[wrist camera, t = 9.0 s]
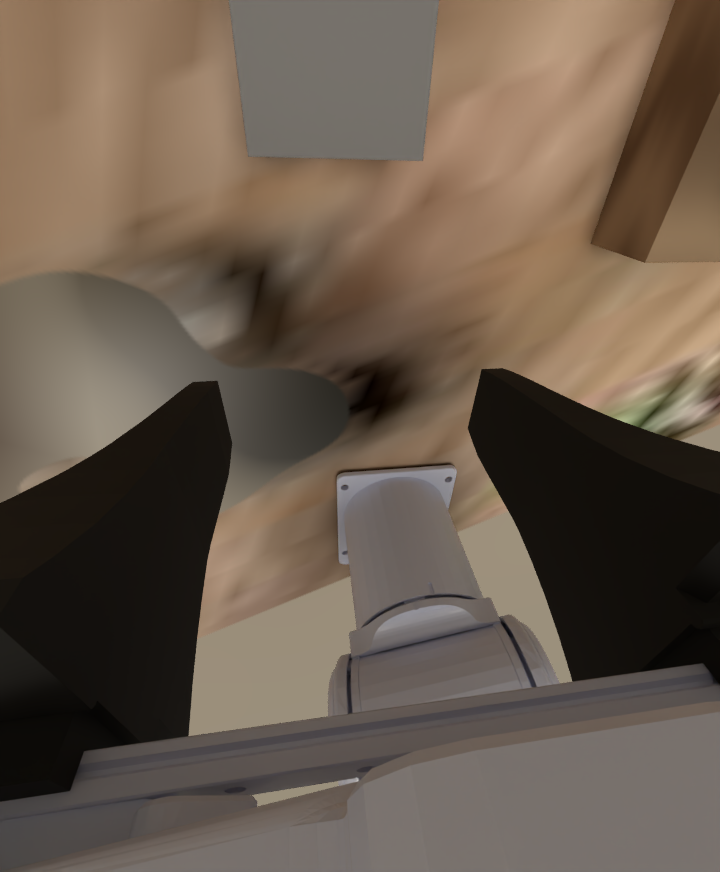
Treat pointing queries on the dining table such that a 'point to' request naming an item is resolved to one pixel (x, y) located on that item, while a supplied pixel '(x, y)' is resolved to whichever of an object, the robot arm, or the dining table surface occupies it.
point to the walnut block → (672, 150)
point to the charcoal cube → (335, 76)
